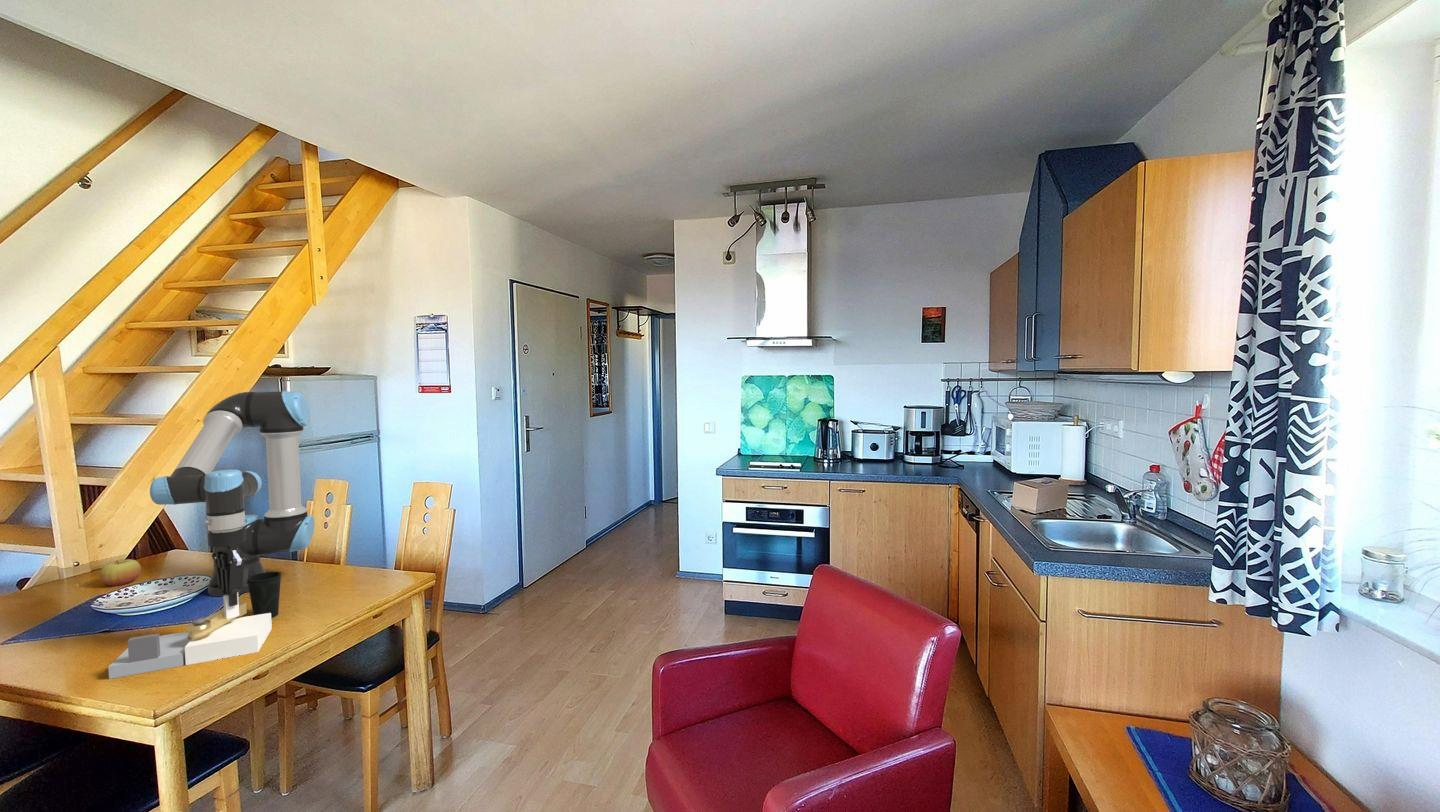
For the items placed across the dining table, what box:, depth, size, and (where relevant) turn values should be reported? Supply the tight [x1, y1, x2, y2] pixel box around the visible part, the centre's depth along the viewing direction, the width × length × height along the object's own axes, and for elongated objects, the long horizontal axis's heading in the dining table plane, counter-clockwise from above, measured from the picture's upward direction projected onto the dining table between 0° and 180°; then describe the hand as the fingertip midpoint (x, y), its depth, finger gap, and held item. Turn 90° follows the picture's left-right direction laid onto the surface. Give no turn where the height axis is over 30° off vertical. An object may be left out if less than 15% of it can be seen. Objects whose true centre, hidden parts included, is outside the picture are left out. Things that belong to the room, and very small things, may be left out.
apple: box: [98, 558, 142, 587], centre depth 191 cm, size 10×10×8 cm
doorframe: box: [107, 613, 273, 680], centre depth 145 cm, size 15×28×9 cm, turn 118°
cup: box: [247, 571, 282, 619], centre depth 166 cm, size 8×8×12 cm
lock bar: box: [186, 601, 248, 640], centre depth 149 cm, size 4×15×3 cm, turn 5°
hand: (232, 617), depth 151 cm, fingers closed
